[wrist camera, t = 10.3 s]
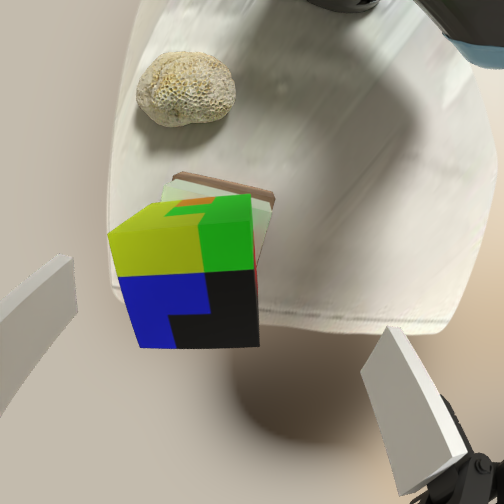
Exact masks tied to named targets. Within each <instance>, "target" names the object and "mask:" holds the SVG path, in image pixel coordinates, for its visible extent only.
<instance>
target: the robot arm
mask: <svg viewBox="0 0 504 504" xmlns="http://www.w3.org/2000/svg"><path fill="white" fill-rule="evenodd" d="M307 1H309V2H311V3H313V4H315V5H317V6H320V7H322V8H325V9H328V10H332V11H337V12H344V13H357V12H362V11H366V10H369V9H371V8H372V7H374V6H375V5H376V4H377V3H378V2H379V1H380V0H307ZM413 1H414V2H415V3H416V4H417V5H418V6H419V7H420V8H421V9H422V10H423V11H424V12H425V13H426V14H427V15H428V16H429V17H430V18H431V20H432V21H433V22H434V23H435V24H436V25H437V26H438V27H439V29H440V30H441V31H442V34H443V35H444V36H445V38H447V39H448V40H449V41H451V42H452V43H453V44H454V46H455V47H456V48H457V49H458V50H459V52H460V53H461V54H462V55H463V57H464V58H465V59H466V60H468V61H469V62H470V63H472V64H474V65H477V66H479V67H482V68H487V69H504V0H413ZM76 300H77V299H76V290H75V277H74V260H73V257H70V256H67V255H63V254H60V253H59V254H58V255H56V256H55V257H54V258H52V259H51V260H50V261H49V262H47V263H46V264H45V265H43V266H42V267H41V268H40V269H38V270H37V271H36V272H34V273H33V274H32V275H31V276H29V277H28V278H27V279H26V280H25V281H23V282H22V283H21V284H20V285H18V286H17V287H16V288H15V289H14V290H12V291H11V292H10V293H9V294H8V295H7V296H5V297H4V298H3V299H2V300H1V301H0V417H1V416H2V414H3V412H4V411H5V409H6V408H7V406H8V405H9V403H10V402H11V400H12V398H13V397H14V396H15V394H16V393H17V391H18V390H19V388H20V387H21V385H22V384H23V383H24V381H25V380H26V378H27V377H28V376H29V374H30V373H31V371H32V370H33V369H34V367H35V366H36V365H37V363H38V362H39V361H40V359H41V358H42V357H43V355H44V354H45V353H46V351H47V350H48V349H49V347H50V346H51V345H52V344H53V342H54V341H55V340H56V338H57V337H58V336H59V335H60V333H61V332H62V331H63V330H64V329H65V327H66V326H67V325H68V324H69V323H70V321H71V320H72V319H73V318H74V316H75V315H76V314H77V313H78V308H77V301H76ZM360 373H361V376H362V378H363V381H364V384H365V387H366V390H367V392H368V395H369V398H370V401H371V404H372V407H373V410H374V413H375V416H376V419H377V423H378V426H379V428H380V432H381V435H382V438H383V441H384V444H385V448H386V451H387V455H388V458H389V461H390V465H391V468H392V472H393V476H394V479H395V483H396V487H397V490H398V494H399V496H403V495H407V494H411V493H415V492H417V491H418V490H420V489H421V488H422V487H424V486H426V485H427V488H428V490H427V491H425V492H424V493H422V494H421V495H419V496H418V497H416V498H415V499H413V500H412V501H411V502H410V504H414V503H416V502H417V501H419V500H420V499H421V500H420V502H419V503H418V504H488V502H490V501H491V500H493V499H494V498H496V497H497V503H496V504H504V460H503V461H502V462H501V463H497V462H491V460H490V459H489V457H488V456H486V455H485V454H482V453H474V451H473V450H472V447H471V445H470V443H469V441H468V439H467V437H466V435H465V433H464V431H463V429H462V427H461V425H460V424H459V423H458V422H459V421H458V419H457V417H456V416H455V415H454V411H453V409H452V407H451V405H450V403H449V402H448V401H447V400H446V399H445V398H444V397H443V396H442V395H441V394H439V392H438V391H437V389H436V387H435V385H434V383H433V381H432V380H431V378H430V376H429V374H428V372H427V371H426V369H425V367H424V365H423V364H422V362H421V361H420V359H419V357H418V355H417V354H416V352H415V350H414V348H413V347H412V345H411V344H410V342H409V340H408V338H407V337H406V335H405V334H404V332H403V330H402V329H401V328H400V327H393V326H387V327H386V328H385V330H384V332H383V334H382V336H381V338H380V339H379V341H378V343H377V345H376V346H375V348H374V350H373V352H372V353H371V355H370V357H369V358H368V360H367V362H366V363H365V365H364V367H363V368H362V370H361V371H360Z"/></svg>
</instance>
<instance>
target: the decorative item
mask: <svg viewBox="0 0 504 504" xmlns="http://www.w3.org/2000/svg"><path fill="white" fill-rule="evenodd" d="M235 92H236V88H235V83H234V81H233V80H232V78H231V72H230V71H229V69H228V68H227V66H225V65H224V64H223V63H222V62H220V61H219V60H217V59H216V58H215V57H213V56H210V55H207V54H205V53H201V52H195V53H192V52H185V51H184V52H174V53H173V52H168V53H164V54H162V55H160V56H159V57H158V58H157V59H156V60H155V61H153V63H152V64H151V65H150V66H149V67H148V68H147V70H146V72H145V73H144V74H143V75H142V76H141V78H140V80H139V84H138V86H137V93H136V101H137V103H138V105H139V107H140V108H141V109H142V110H144V112H145V113H146V114H147V115H148V116H149V117H150V118H151V119H152V120H153V121H155V122H156V123H157V124H159V125H162V126H164V127H178V126H181V127H182V126H184V125H187V124H190V123H201V122H203V123H207V122H212V121H216V120H220V119H221V118H223V117H224V116H225V115H226V114H227V113H228V112H229V111H230V110H231V108H232V106H233V104H234V102H235V98H236V95H235Z"/></svg>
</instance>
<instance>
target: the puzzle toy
mask: <svg viewBox="0 0 504 504" xmlns="http://www.w3.org/2000/svg"><path fill="white" fill-rule="evenodd" d="M107 235H108V239H109V244H110V248H111V253H112V257H113V261H114V265H115V269H116V273H117V276H118V280H119V284H120V287H121V291H122V294H123V298H124V301H125V304H126V308H127V311H128V313H129V317H130V320H131V323H132V326H133V329H134V332H135V335H136V338H137V341H138V344H139V346H140V348H159V349H160V348H161V349H216V348H244V347H259V346H260V344H259V311H258V284H257V270H256V257H255V244H254V230H253V217H252V204H251V194H240V195H227V196H216V197H205V198H195V199H185V200H176V201H167V202H158V203H151V204H150V205H148V206H147V207H145V208H144V209H142V210H141V211H139V212H138V213H136V214H135V215H133V216H132V217H131V218H129V219H128V220H126V221H125V222H123V223H122V224H120V225H119V226H118V227H116V228H115V229H113V230H112V231H111V232H109V233H108V234H107Z"/></svg>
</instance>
